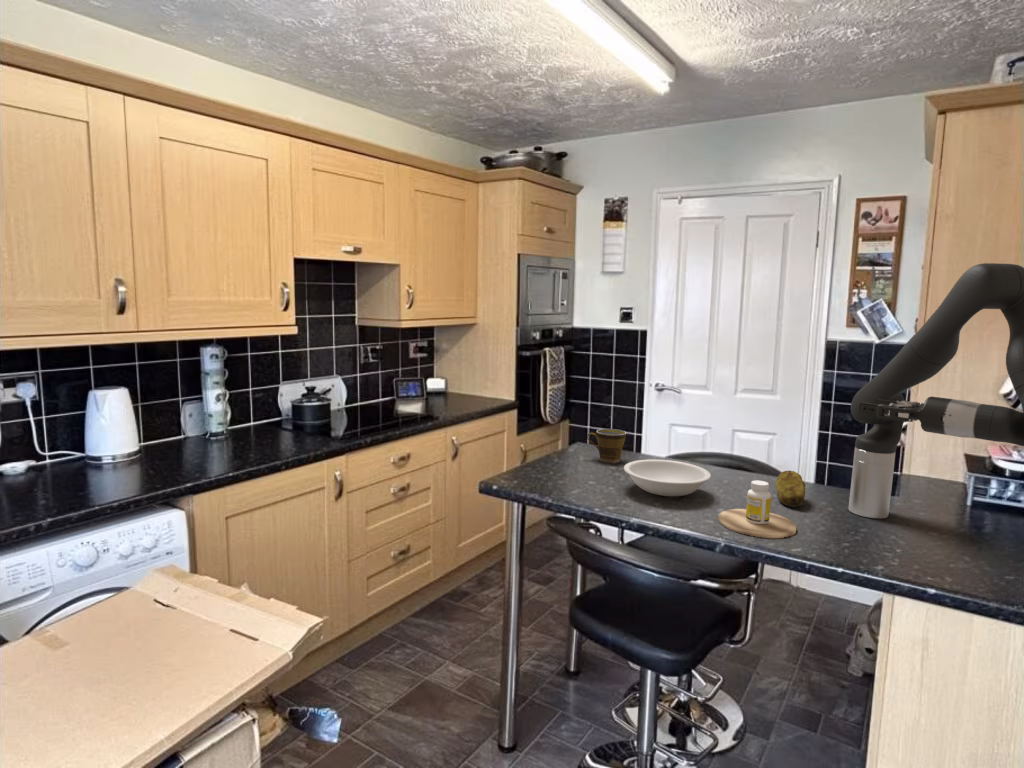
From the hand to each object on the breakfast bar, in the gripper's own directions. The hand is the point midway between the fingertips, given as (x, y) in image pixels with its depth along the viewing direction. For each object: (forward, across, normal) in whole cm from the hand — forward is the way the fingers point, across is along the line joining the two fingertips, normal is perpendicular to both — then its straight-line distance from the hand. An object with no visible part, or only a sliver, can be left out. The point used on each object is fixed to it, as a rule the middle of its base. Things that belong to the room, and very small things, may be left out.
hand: (867, 405), depth 139 cm
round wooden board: (+19, +9, +32) cm, 38 cm away
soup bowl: (+48, +7, +32) cm, 58 cm away
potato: (+23, -15, +32) cm, 42 cm away
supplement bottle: (+19, +9, +31) cm, 38 cm away
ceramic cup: (+82, -5, +32) cm, 88 cm away
